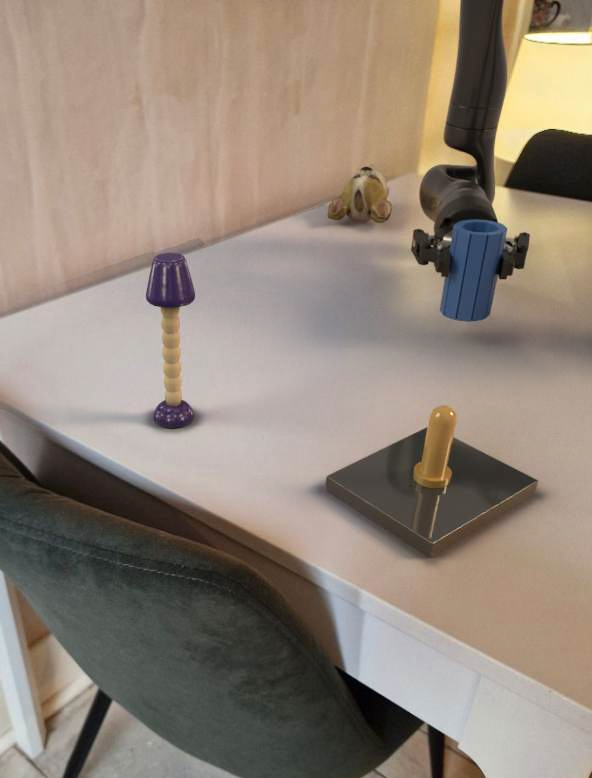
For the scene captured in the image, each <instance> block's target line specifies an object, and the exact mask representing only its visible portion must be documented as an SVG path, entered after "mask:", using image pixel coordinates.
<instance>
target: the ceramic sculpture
mask: <svg viewBox="0 0 592 778" xmlns="http://www.w3.org/2000/svg"><path fill="white" fill-rule="evenodd" d="M389 194H390V187H389V186H388V183H387V180H386V178H385V177H384V175H383V173H382V172H381V171H380V170H378V169H377V168H376V167H375V165H374V164H372V163H371V164H370V165H368V166H363V167H361V168H359V169H358V170H357V171H356V172H355V174H354V175H353V176H352V177H351V178H350V180H348V182H347V183H346V184H345V186H344V188H343V191H342V193H341V194H340V196H339V197H335V198H332V200H331V202H330V203H329V205H328V209H327V215H326V216H327V219H329V220H333V221H340V220H343V219H344V218H345V217H347V218H349V220H352V221H356V222H368V221H371V220H372V221H373V222H375V223H377V224H384V223H385V222H387V221H388V220H389V219H390V217H391V215H392V211H393V208H392V206H393V205H392V203H391V202H390V200H388V197H389Z"/></svg>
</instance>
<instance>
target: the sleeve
mask: <svg viewBox="0 0 592 778" xmlns="http://www.w3.org/2000/svg"><path fill="white" fill-rule="evenodd" d="M507 234H508V227H507V226H506V225H504V224H503V223H501V222H499V221H498V222H494V221H488V220H476V219H474V220H472V219H471V220H464V221H460V222H457V223H456V224H455V225H454V226H453V232H452V238H451V244H450V250H449V252H450V256H451V262H450V268H449V274H448V277H444V282H443V287H442V288H443V289H442V294H441V300H440V307H439V311H440V313H441V315H442V316H444V317H445V318H447V319H450V320H453V321H457V322H458V321H459V322H468V323H472V322H474V323H475V322H480V321H485V320H486V319H487V318H488V317H489V316H490V315H491V311H492V306H493V301H494V297H495V293H496V286H497V282H498V279H499V276H498V273H499V268H500V263H501V258H502V253H503V249H504V244H505V239H506V238H507Z"/></svg>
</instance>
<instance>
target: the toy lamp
mask: <svg viewBox="0 0 592 778" xmlns="http://www.w3.org/2000/svg"><path fill="white" fill-rule="evenodd" d="M146 286H147V287H146V291H145V300H146V302H147V303H149V304H150V305H152V306H154V307H158V308H160V312H161V315H162V318H161V323H160V324H161V329H162V331H163V332H162V335H161V341H162V345H163V347H162V359H163V361H164V362H163V366H162V369H163V374H164V375H165V376H164V378H163V385H164V388H165V391H164V400H162V401H161V402H159V403H158V405H157V406H156V407H155V409H154V412H153V422H154V423H155V424H156V425H158V426H161V427H165V428H170V429H174V428H181V427H185V426H187V425H189V424H191V423H192V422H193V421H194V419H195V412H194V409H193V407H192V406H191V405H190V403H188V402H187V401H186V400H184V399H183V392H182V390H181V388H182V382H183V379H182V376H181V373H182V363H181V361H180V359H181V355H182V351H181V348H180V344H181V333H180V332H179V330H180V327H181V320H180V317H179V314H180V309H181V308H182V307H185V306H189V305H190V304H192V303H193V302H194V301H195V300H196V291H195V287H194V284H193V280H192V276H191V272H190V268H189V265H188V261H187V259H186V257H185V256H184V255H183V254H181V253H177V252H163V253H159V254H157V255H155V256H154V257H153V259H152V262H151V267H150V271H149V276H148V280H147V285H146Z"/></svg>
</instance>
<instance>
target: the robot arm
mask: <svg viewBox="0 0 592 778" xmlns="http://www.w3.org/2000/svg"><path fill="white" fill-rule="evenodd" d="M504 2H505V0H460V3H459V21H458V22H459V23H458V24H459V25H458V43H457V55H456V62H455V69H454V70H455V71H454V77H453V83H452V87H451V88H452V89H451V94H450V98H449V104H448V108H447V112H446V113H447V114H446V118H445V124H444V129H443V137H442V138H443V142H444V144H445V146H446V147H448V148H449V149H452V150H455V151H457V152H461V153H464V154H467V155H469V156H471V157H472V158H473V159H474V161H475V162H474V165H465V164H464V165H461V164H447V163H444V164H441V163H440V164H436V165H434V166H432V167H430V168H429V169H428V170H427V171H426V172H425V173H424V175H423V177H422V179H421V182H420V184H419V191H418V192H419V193H418V196H419V204H420V208H421V210H422V212H423V214H424V215H425V216H426V217H427V219H429V220H431V221H432V222H433V232H434V234H432V235H430V233H429V232H426V231H425V230H423V229H421V228H415V229H413V231H412V238H411V239H412V240H411V247H410V252H411V253H412V255H413V257H414V259H415V260H416V262H417V264H418V265H421V266H427V265H429V264H430V263H433V267H434V269H435V272H436V273H437V274H440V276H441V278H445V277H448V274H449V268H450V262H451V256H450V252H449V250H450V244H451V238H452V232H453V226H454V225H455V224H456V223H457V222H460V221H464V220H471V219H472V220H474V219H476V220H488V221H494V222H498V223H499V221H498V217H497V215H496V212H495V209H494V207H493V203H494V200H495V197H496V178H495V146H496V137H497V132H498V128H499V124H500V119H501V114H502V111H503V107H504V103H505V102H504V101H505V97H506V91H507V86H508V85H507V84H508V60H507V53H506V46H505V40H504V39H505V38H504V32H503V31H504V30H503V10H504V4H505V3H504ZM590 2H592V0H590ZM530 237H531V233H529V232H525V231H524V232H519V234H518V235H515V236H514V237H513V238H511V237H506V239H505V244H504V249H503V253H502V258H501V263H500V268H499V273H498V279H499V280H507V279H508V277H509V276H510V277H511V276H512V275H513V274H514V270H515V269H516V270H523V269H525V265H526V259H527V253H528V251H529V247H530V239H531V238H530Z"/></svg>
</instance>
